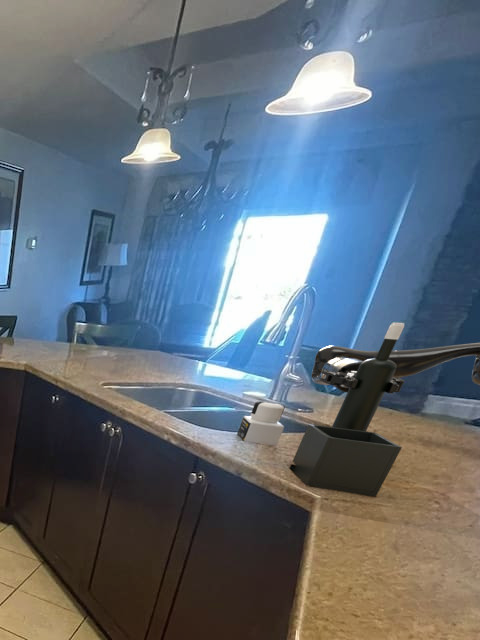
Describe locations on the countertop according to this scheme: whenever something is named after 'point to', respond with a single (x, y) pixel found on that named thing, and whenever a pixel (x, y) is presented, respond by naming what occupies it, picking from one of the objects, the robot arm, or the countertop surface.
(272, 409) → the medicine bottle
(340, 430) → the bin
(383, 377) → the wine bottle
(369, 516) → the countertop surface
